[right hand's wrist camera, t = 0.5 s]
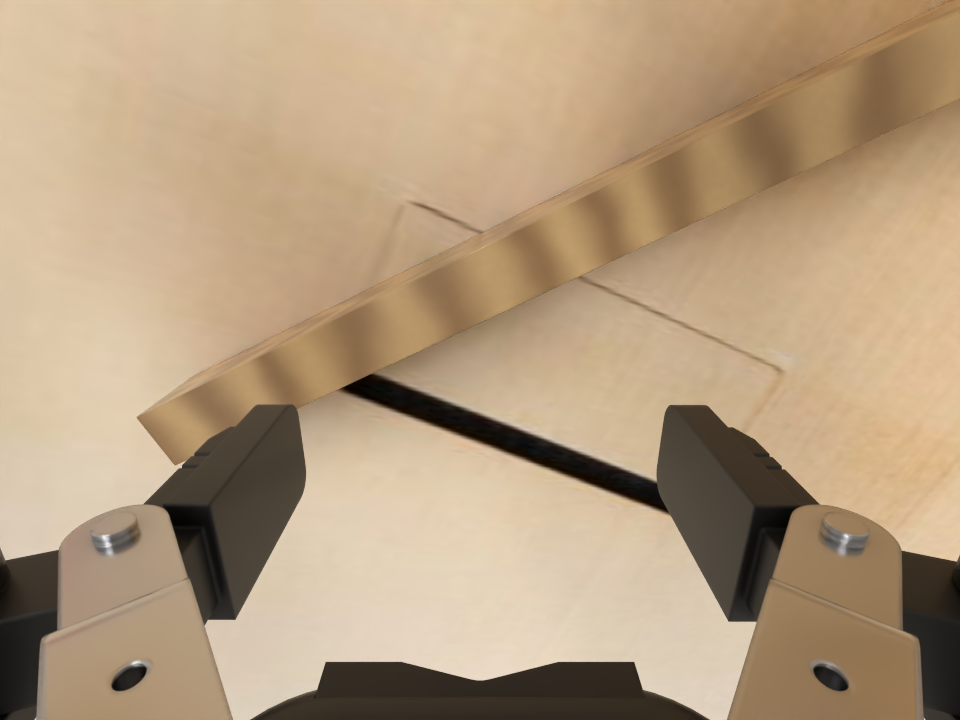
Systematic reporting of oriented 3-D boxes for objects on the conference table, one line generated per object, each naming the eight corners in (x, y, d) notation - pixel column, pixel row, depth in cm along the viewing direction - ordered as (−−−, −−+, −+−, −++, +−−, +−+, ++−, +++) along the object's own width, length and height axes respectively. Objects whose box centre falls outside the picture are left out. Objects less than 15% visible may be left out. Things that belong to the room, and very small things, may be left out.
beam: (1268, -159, 29) (1503, -257, 22) (1265, -78, 30) (1486, -148, 24) (192, 376, 41) (135, 417, 34) (223, 418, 42) (174, 465, 35)
